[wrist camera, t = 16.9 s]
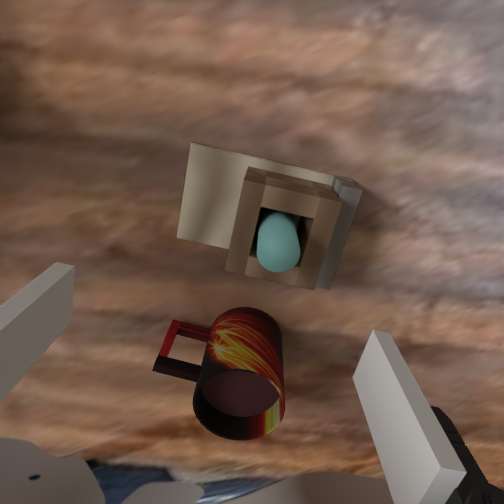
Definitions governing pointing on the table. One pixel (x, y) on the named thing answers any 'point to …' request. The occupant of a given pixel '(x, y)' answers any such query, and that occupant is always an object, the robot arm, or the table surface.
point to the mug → (233, 373)
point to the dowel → (277, 240)
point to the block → (291, 201)
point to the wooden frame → (228, 194)
